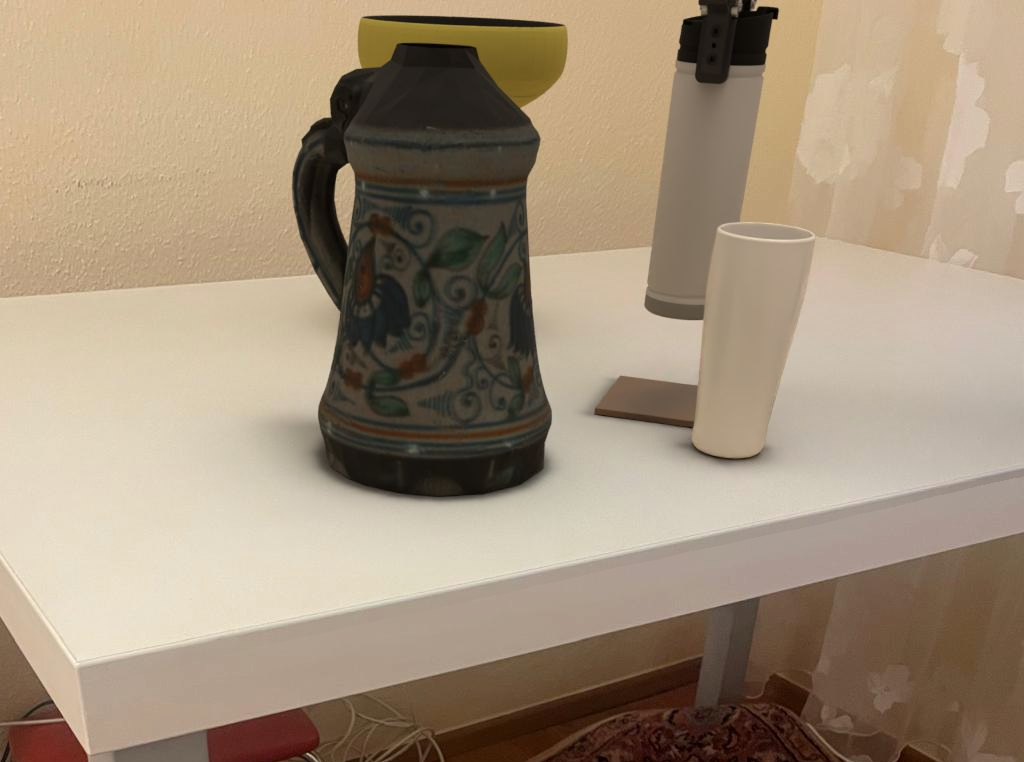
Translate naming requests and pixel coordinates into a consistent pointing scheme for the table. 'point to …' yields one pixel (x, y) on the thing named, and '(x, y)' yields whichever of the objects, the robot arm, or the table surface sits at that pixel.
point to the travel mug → (704, 163)
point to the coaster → (650, 401)
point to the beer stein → (427, 276)
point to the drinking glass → (748, 332)
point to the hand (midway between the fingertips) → (717, 79)
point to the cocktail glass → (500, 45)
